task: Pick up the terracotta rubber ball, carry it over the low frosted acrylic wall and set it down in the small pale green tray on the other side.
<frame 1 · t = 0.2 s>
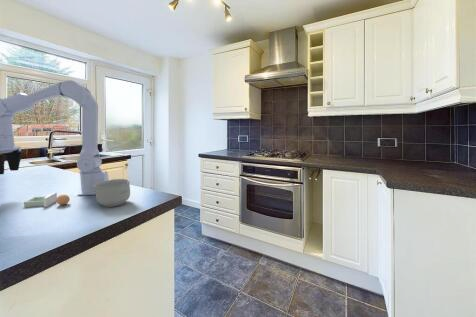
hand: (7, 172, 81), 10 cm above the counter, tool pointing down, fingers open, 7 cm apart
teacup: (114, 203, 79), on the counter
ball: (63, 199, 76), point 2 cm above the counter
wall: (50, 203, 77), on the counter
tray: (39, 203, 77), on the counter
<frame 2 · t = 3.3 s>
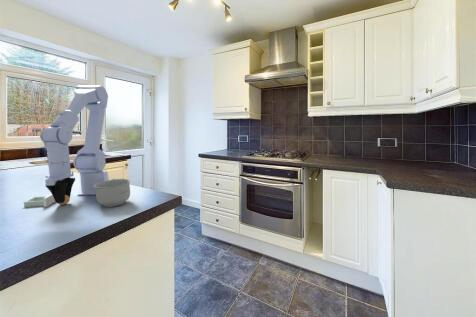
hand: (63, 200, 76), 1 cm above the counter, tool pointing down, fingers closed on ball, 4 cm apart
ball: (63, 199, 76), point 2 cm above the counter, touching gripper
everything else where it was.
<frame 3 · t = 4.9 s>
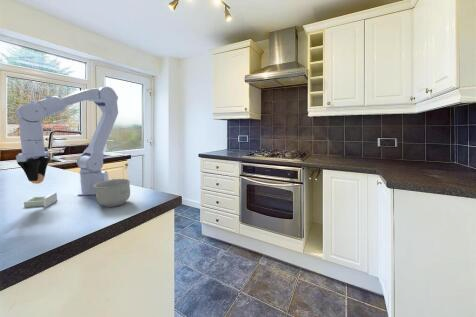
hand: (36, 179, 76), 9 cm above the counter, tool pointing down, fingers closed on ball, 4 cm apart
ball: (36, 178, 76), point 9 cm above the counter, touching gripper
everything else where it was.
when the fingers open (3 cm above the counter, at t = 6.6 s): ball stays where it is, resting on tray.
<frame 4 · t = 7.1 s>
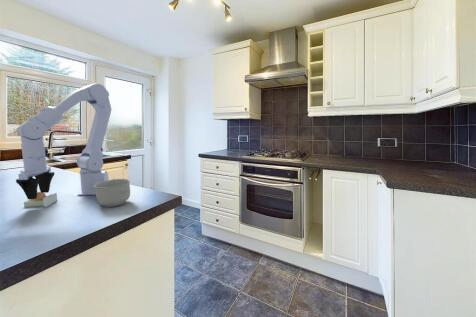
hand: (38, 195, 76), 3 cm above the counter, tool pointing down, fingers open, 7 cm apart
ball: (39, 197, 76), point 2 cm above the counter, touching tray
everything else where it was.
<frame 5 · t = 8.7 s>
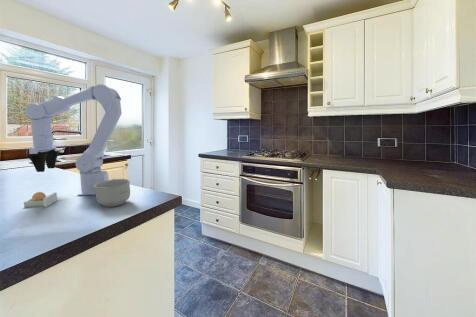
hand: (46, 169, 86), 10 cm above the counter, tool pointing down, fingers open, 7 cm apart
nothing on the counter moved.
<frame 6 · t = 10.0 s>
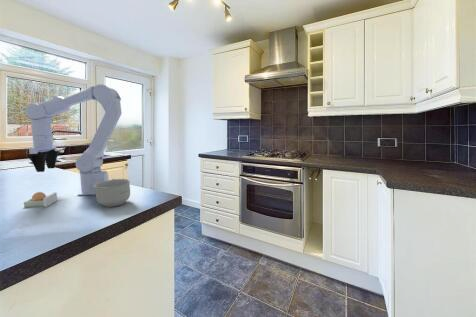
hand: (46, 169, 86), 10 cm above the counter, tool pointing down, fingers open, 7 cm apart
nothing on the counter moved.
at the end: ball 0.0 cm off-centre on the tray, point 2.3 cm above the tray's base; the gripper is holding nothing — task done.
